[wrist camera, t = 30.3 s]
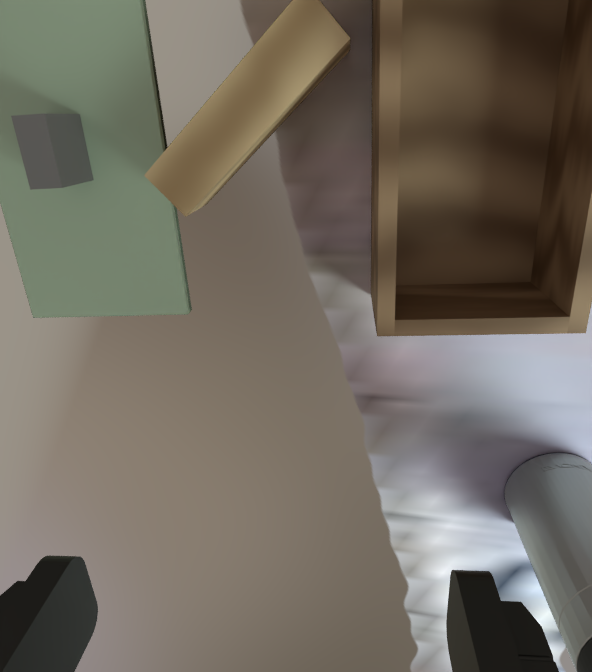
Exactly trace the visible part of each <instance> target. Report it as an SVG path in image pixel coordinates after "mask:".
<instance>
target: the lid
mask: <svg viewBox="0 0 592 672" xmlns="http://www.w3.org/2000/svg"><path fill="white" fill-rule="evenodd" d="M167 148H168V147H167V141H166V134H165V128H164V122H163V114H162V108H161V101H160V94H159V88H158V81H157V75H156V67H155V61H154V54H153V47H152V41H151V34H150V28H149V21H148V14H147V8H146V1H145V0H0V204H1V207H2V211H3V214H4V217H5V221H6V225H7V228H8V232H9V235H10V238H11V242H12V245H13V249H14V252H15V256H16V259H17V263H18V266H19V270H20V273H21V277H22V280H23V284H24V287H25V291H26V294H27V298H28V301H29V305H30V308H31V312H32V315H33V318H40V317H42V318H43V317H87V316H132V315H133V316H134V315H176V314H177V315H179V314H189V313H190V311H191V310H192V307H191V301H190V293H189V287H188V280H187V274H186V267H185V260H184V254H183V247H182V241H181V234H180V227H179V220H178V214H177V208H176V207H175V206H174V205H173V204H172V203H171V202H170V201H169V200H168V199H167V198H166V197H165V196H164V195H163V194H162V193H161V192H160V191H159V190H158V189H157V188H156V187H155V186H154V185H153V184H152V183H151V182H150V181H149V180H148V179H147V178H146V177H145V176H144V175H145V174H146V172H147V171H148V170H149V169H150V168H151V166H152V165H153V164H154V163H155V162H156V161H157V159H158V158H159V157H160V156H161V155H162V154H163V152H164V151H165V150H166V149H167Z"/></svg>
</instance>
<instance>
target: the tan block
mask: <svg viewBox="0 0 592 672" xmlns="http://www.w3.org/2000/svg"><path fill="white" fill-rule="evenodd" d="M349 51H350V37H349V36H348V35H347V34H346V32H345V31H344V30H343V29H342V28H341V26H340V25H339V24H338V23H337V21H336V20H335V19H334V18H333V16H332V15H331V14H330V13H329V12H328V10H327V9H326V8H325V7H324V5H323V4H322V3H321V2H320V1H319V0H292V1H291V3H290V4H289V5H288V6H287V7H286V8H285V10H284V11H283V12H282V13H281V14H280V15H279V17H278V18H277V19H276V20H275V21H274V23H273V24H272V25H271V26H270V27H269V28H268V30H267V31H266V32H265V33H264V34H263V36H262V37H261V38H260V39H259V40H258V41H257V43H256V44H255V45H254V46H253V47H252V49H251V50H250V51H249V52H248V53H247V55H246V56H245V57H244V58H243V59H242V60H241V62H240V63H239V64H238V65H237V66H236V68H235V69H234V70H233V71H232V72H231V73H230V75H229V76H228V77H227V78H226V79H225V81H224V82H223V83H222V84H221V85H220V86H219V87H218V89H217V90H216V91H215V92H214V93H213V95H212V96H211V97H210V98H209V99H208V101H207V102H206V103H205V104H204V105H203V107H202V108H201V109H200V110H199V111H198V112H197V113H196V115H195V116H194V117H193V118H192V119H191V121H190V122H189V123H188V124H187V125H186V126H185V128H184V129H183V130H182V131H181V132H180V134H179V135H178V136H177V137H176V138H175V140H174V141H173V142H172V143H171V144H170V146H169V147H168V148H167V149H166V150H165V151H164V152H163V154H162V155H161V156H160V157H159V158H158V159H157V161H156V162H155V163H154V164H153V165H152V166H151V168H150V169H149V170H148V171H147V172H146V174H145V175H144V176H145V177H146V178H147V179H148V180H149V181H150V182H151V183H152V184H153V185H154V186H155V187H156V188H157V189H158V190H159V191H160V192H161V193H162V194H163V195H164V196H165V197H166V198H167V199H168V200H169V201H170V202H171V203H172V204H173V205H174V206H175V207H176V208H177V209H178V210H179V211H180V212H181V213H182V214H183V215H184V216H185V217H186V216H188V215H190V214H191V213H193V212H195V211H196V210H198V209H199V208H201V207H203V206H204V205H206V204H207V203H208V202H209V201H210V200H211V199H212V198H213V197H214V196H215V195H216V194H217V193H218V192H219V190H220V189H221V188H222V187H223V186H224V185H225V184H226V183H227V182H228V181H229V180H230V179H231V178H232V177H233V176H234V174H235V173H236V172H237V171H238V170H239V169H240V168H241V167H242V166H243V164H245V163H246V162H247V160H248V159H249V158H250V157H251V156H252V155H253V154H254V153H255V152H256V151H257V150H258V149H259V148H260V146H261V145H262V144H263V143H264V142H265V141H266V140H267V139H268V138H269V137H270V136H271V135H272V134H273V133H274V132H275V130H276V129H277V128H278V127H279V126H280V125H281V124H282V123H283V122H284V121H285V119H286V118H287V117H288V116H289V115H290V114H291V113H292V112H293V111H294V110H295V109H296V108H297V107H298V106H299V104H300V103H301V102H302V101H303V100H304V99H305V98H306V97H307V96H308V95H309V94H310V93H311V92H312V91H313V89H314V88H315V87H316V86H317V85H318V84H319V83H320V82H321V81H322V80H323V79H324V78H325V77H326V75H327V74H328V73H329V72H330V71H331V70H332V69H333V68H334V67H335V66H336V65H337V64H338V63H339V62H340V60H341V59H342V58H343V57H344V56H345V55H346V54H347V53H348V52H349Z"/></svg>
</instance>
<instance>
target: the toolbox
mask: <svg viewBox="0 0 592 672" xmlns="http://www.w3.org/2000/svg"><path fill="white" fill-rule="evenodd" d="M371 298H372V305H373V311H374V318H375V325H376V331H377V336H424V335H489V334H554V333H586V329H587V324H588V318H589V313H590V308H591V302H592V0H372V188H371Z"/></svg>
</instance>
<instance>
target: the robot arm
mask: <svg viewBox="0 0 592 672" xmlns="http://www.w3.org/2000/svg"><path fill="white" fill-rule="evenodd" d="M504 496H505V502H506V504H507V507H508V509H509V511H510V514H511V516H512V519H513V521H514V524H515V526H516V528H517V531H518V534H519V536H520V538H521V541H522V543H523V545H524V548H525V550H526V553H527V555H528V557H529V560H530V562H531V565H532V567H533V569H534V572H535V574H536V577H537V579H538V581H539V584H540V586H541V588H542V591H543V593H544V596H545V598H546V600H547V603H548V605H549V608H550V610H551V612H552V615H553V617H554V619H555V622H556V624H557V627H558V629H559V631H560V634H561V636H562V638H563V640H564V643H565V645H566V648H567V650H568V652H569V655H570V657H571V660H572V662H573V664H574V667H575V669H576V671H577V672H592V464H591V463H590V462H588V461H587V460H585V459H583V458H581V457H579V456H575V455H572V454H565V453H552V454H546V455H541V456H538V457H535V458H533V459H530V460H528V461H527V462H525V463H524V464H522V465H520V466H519V467H518V468H517V469H516V470H515V471H514V472H513V473H512V475H511V476H510V477H509V479H508V481H507V484H506V486H505V493H504ZM97 613H98V606H97V601H96V598H95V595H94V591H93V588H92V585H91V581H90V578H89V575H88V571H87V568H86V565H85V562H84V560H83V559H82V558H81V557H75V556H45V557H44V558H42V559H41V560H40V561H39V563H38V564H37V565H36V567H35V568H34V570H33V571H32V572H31V574H30V575H29V577H28V579H27V580H26V581H17V582H16V583H15V584H13V585H12V586H11V587H10V588H9V589H8V590H6V591H5V592H4V593H3V594H2V595H1V596H0V672H74V671H75V669H76V667H77V665H78V663H79V661H80V659H81V657H82V655H83V653H84V651H85V649H86V647H87V645H88V643H89V641H90V639H91V636H92V634H93V632H94V629H95V625H96V621H97ZM447 641H448V649H449V655H450V660H451V666H452V671H453V672H559V671H558V668H557V665H556V663H555V662H554V661H553V655H552V653H551V650H550V647H549V645H548V642H547V640H546V637H545V634H544V632H543V629H542V627H541V626H540V624H539V623H538V622H537V621H536V620H535V618H534V617H533V616H532V615H531V613H530V612H529V611H528V610H527V609H526V607H525V606H524V605H523V604H522V602H511V601H501V600H500V597H499V594H498V591H497V588H496V585H495V582H494V579H493V576H492V574H491V573H490V572H489V571H464V570H452V572H451V577H450V588H449V599H448V610H447Z"/></svg>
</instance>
